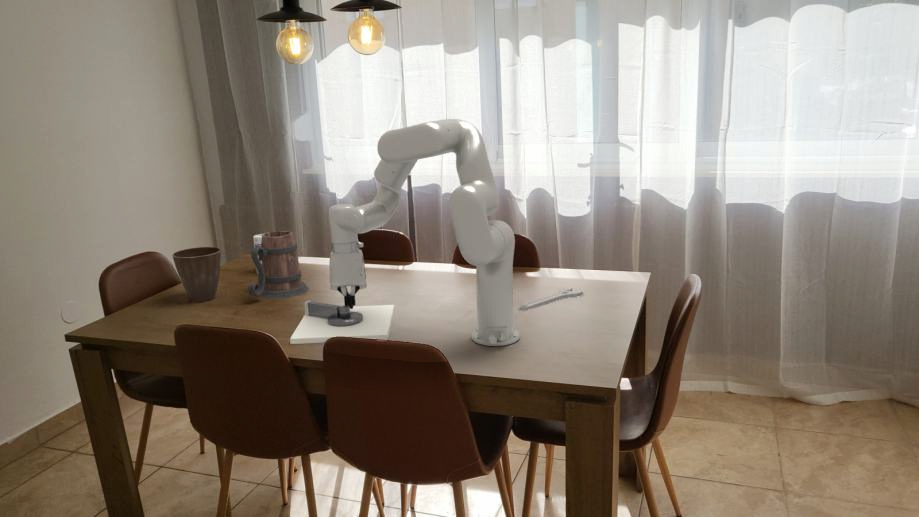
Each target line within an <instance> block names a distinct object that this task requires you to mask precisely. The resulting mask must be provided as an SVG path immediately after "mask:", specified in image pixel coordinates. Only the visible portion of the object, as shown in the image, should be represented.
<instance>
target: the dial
mask: <svg viewBox="0 0 919 517" xmlns="http://www.w3.org/2000/svg"><path fill="white" fill-rule="evenodd" d="M303 303H304V313H305V314H306V315H313V316H319V317H325V318H327V320H328V324H330V325H332V326H350V325H355V324H358V323H360V322H361V321H362V320H363V315H362V314H361V313H359V312H351V311H350V306H347V305H345V304H344V305H338V304H337V305H336V304H331V303H325V302H319V301H313V300H307V301H304V302H303ZM305 314H304V315H305Z"/></svg>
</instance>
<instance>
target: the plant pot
mask: <svg viewBox="0 0 919 517" xmlns="http://www.w3.org/2000/svg"><path fill="white" fill-rule="evenodd" d="M221 252H222V250H221V248H220V247H216V246H200V247H192V248H191V247H190V248H186V249H181V250H178V251H175V252H173V253H172V255H171V256H172V259H173V263H174V266H175V269H176V272H177V274H178V277H179V280H180V282H181V284H182V285H183V288H184V290H185V292H186V293H187V295H188V297H189V299H190V300H191V302H195V303H200V302H201V303H202V302H207V301H210V300H211V301H212V300H214V299H215V297H216V295H217V294H216V293H217V290H218V286H219V279H220V274H221V273H220V271H221V259H222V258H221Z"/></svg>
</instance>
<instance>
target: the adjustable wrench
mask: <svg viewBox="0 0 919 517" xmlns="http://www.w3.org/2000/svg"><path fill="white" fill-rule="evenodd" d="M583 293H584V289H582V288H581V289H579V290H576V291H575V290H573V288H572V287H567V288H563V289H559V291H558V292H557V293H556V294H552V295H549V296H546V297H542V298H540V299H535V300H533V301H530V302H526V303H523V304H520V305H519V306H518V307H519V310H520V311H528V309H529V310H532V309H535V308H538V307H541V306H544V304H545V305H548V304H550V302H551V303H554V302H556V300H557V301H560V300H562V299H563V298H564V299H569V298H568V297H571V298H578V297H577V296H580V297H582V296H583V295H584V294H583ZM582 294H583V295H582ZM581 295H582V296H581ZM559 299H560V300H559ZM564 299H563V300H564ZM553 301H554V302H553ZM547 303H548V304H547ZM537 306H538V307H537ZM531 308H532V309H531Z"/></svg>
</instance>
